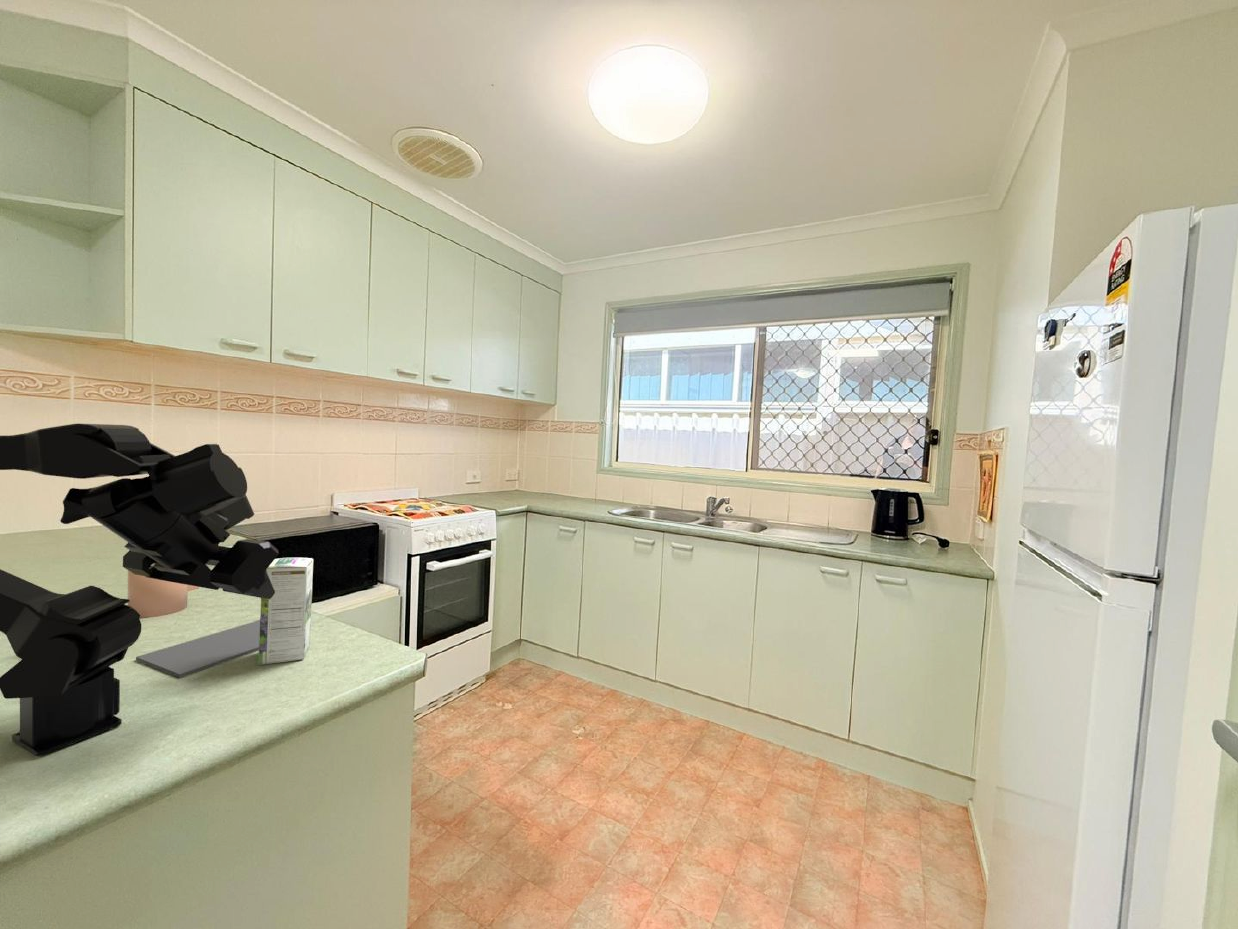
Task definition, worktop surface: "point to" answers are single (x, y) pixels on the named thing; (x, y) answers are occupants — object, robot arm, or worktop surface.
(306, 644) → the syrup box
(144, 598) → the terracotta mug
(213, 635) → the mat
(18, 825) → the worktop surface
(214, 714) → the worktop surface
